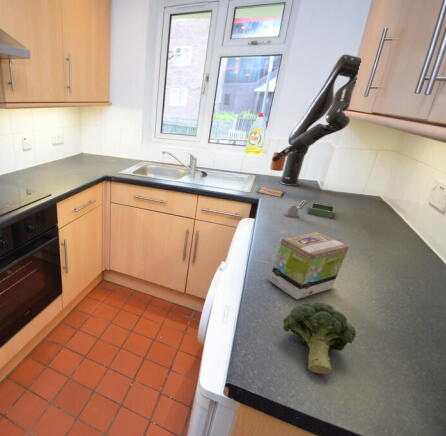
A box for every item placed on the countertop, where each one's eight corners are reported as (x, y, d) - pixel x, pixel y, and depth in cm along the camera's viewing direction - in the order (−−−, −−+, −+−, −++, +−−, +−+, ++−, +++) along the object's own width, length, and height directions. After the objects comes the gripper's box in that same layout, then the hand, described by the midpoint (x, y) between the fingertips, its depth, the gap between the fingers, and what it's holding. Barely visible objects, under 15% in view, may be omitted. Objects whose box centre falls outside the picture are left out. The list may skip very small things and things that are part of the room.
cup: (276, 167, 171) (280, 152, 168) (285, 170, 166) (289, 154, 162) (267, 168, 169) (270, 152, 166) (275, 171, 164) (279, 154, 160)
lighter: (287, 216, 139) (292, 200, 136) (286, 214, 141) (290, 198, 137) (303, 217, 139) (308, 201, 135) (301, 215, 140) (306, 199, 137)
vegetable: (271, 354, 61) (277, 292, 70) (303, 382, 66) (304, 320, 74) (338, 358, 52) (335, 286, 61) (370, 390, 56) (363, 319, 65)
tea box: (298, 301, 81) (313, 254, 75) (268, 281, 90) (280, 237, 84) (333, 289, 87) (350, 244, 81) (301, 271, 95) (315, 229, 89)
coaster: (261, 187, 181) (261, 187, 180) (283, 191, 174) (283, 191, 174) (257, 192, 171) (257, 191, 171) (280, 197, 165) (280, 196, 165)
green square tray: (310, 207, 151) (311, 202, 149) (332, 212, 146) (334, 206, 144) (308, 213, 143) (310, 207, 142) (332, 218, 138) (334, 212, 137)
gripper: (303, 148, 149) (274, 166, 161) (312, 145, 158) (284, 163, 170) (295, 136, 150) (266, 155, 163) (304, 134, 159) (276, 152, 172)
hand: (275, 159), depth 166 cm, fingers closed on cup, 6 cm apart
